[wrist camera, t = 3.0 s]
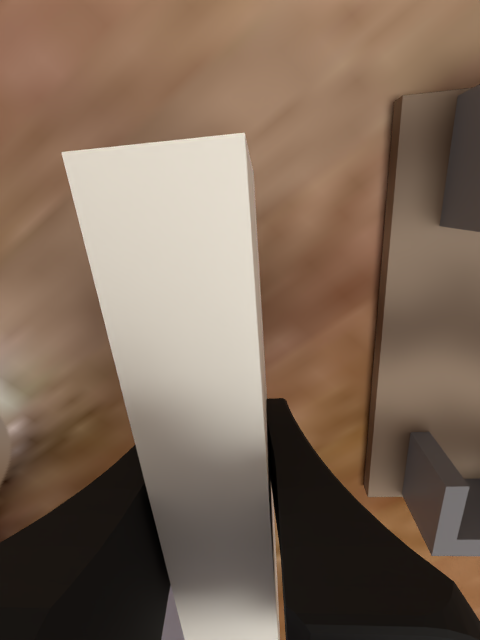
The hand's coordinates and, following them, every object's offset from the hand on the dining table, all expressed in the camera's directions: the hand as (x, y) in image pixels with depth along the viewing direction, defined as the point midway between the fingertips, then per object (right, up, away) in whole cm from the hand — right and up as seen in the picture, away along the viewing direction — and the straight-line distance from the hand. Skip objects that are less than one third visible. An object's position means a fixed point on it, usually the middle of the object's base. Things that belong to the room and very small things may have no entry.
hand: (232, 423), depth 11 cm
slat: (0, +1, +2) cm, 2 cm away
